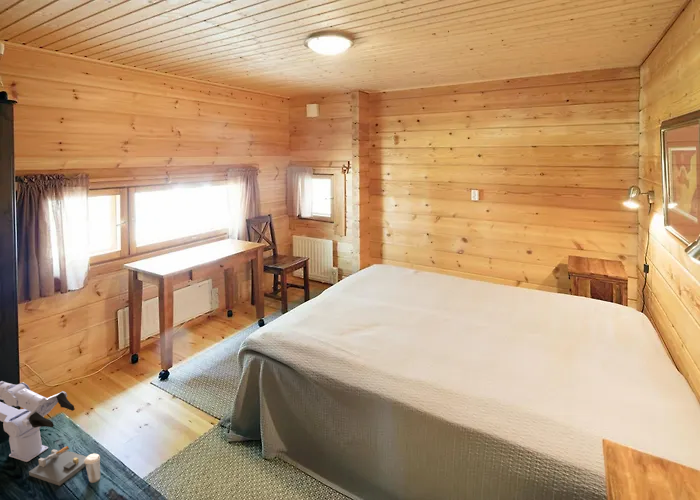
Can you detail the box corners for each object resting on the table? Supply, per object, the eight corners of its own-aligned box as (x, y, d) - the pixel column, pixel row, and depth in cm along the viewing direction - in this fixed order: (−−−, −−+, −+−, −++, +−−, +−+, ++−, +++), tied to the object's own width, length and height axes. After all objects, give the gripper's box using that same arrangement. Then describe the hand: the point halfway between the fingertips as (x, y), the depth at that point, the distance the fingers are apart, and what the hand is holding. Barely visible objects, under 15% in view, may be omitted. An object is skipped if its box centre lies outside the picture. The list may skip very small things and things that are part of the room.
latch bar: (44, 461, 145) (42, 458, 145) (52, 456, 148) (50, 453, 148) (61, 454, 141) (59, 451, 141) (69, 449, 144) (67, 445, 144)
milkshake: (97, 485, 138) (94, 460, 136) (83, 483, 139) (80, 457, 137) (107, 476, 142) (104, 450, 140) (94, 473, 143) (91, 448, 141)
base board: (29, 475, 142) (27, 465, 141) (62, 452, 153) (61, 443, 152) (59, 485, 138) (57, 475, 137) (91, 461, 149) (90, 451, 148)
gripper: (9, 409, 138) (39, 424, 134) (51, 380, 150) (79, 393, 146) (15, 424, 141) (44, 438, 137) (56, 394, 153) (83, 407, 150)
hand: (63, 416), depth 142 cm, fingers open, 7 cm apart
